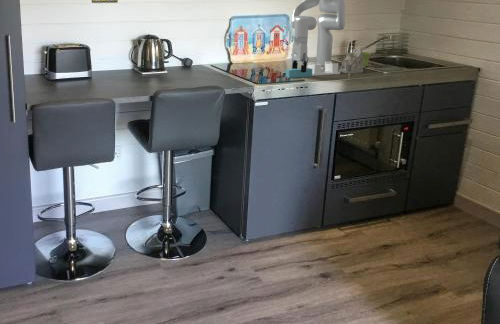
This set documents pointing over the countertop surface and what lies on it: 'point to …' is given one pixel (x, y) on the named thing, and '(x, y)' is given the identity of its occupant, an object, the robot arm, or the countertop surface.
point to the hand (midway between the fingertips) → (299, 70)
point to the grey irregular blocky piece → (353, 62)
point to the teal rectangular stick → (298, 73)
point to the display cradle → (324, 68)
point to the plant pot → (365, 58)
